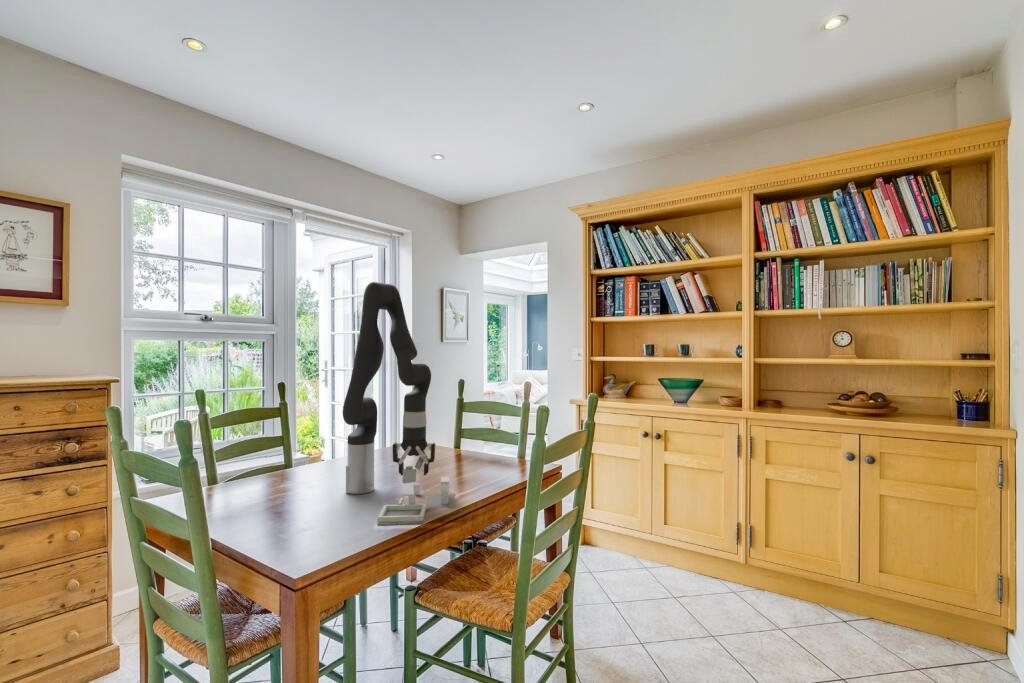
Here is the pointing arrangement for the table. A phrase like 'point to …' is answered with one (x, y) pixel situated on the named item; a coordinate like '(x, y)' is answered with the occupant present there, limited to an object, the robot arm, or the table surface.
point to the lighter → (411, 472)
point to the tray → (401, 518)
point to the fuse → (445, 485)
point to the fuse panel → (431, 498)
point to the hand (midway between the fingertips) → (413, 474)
